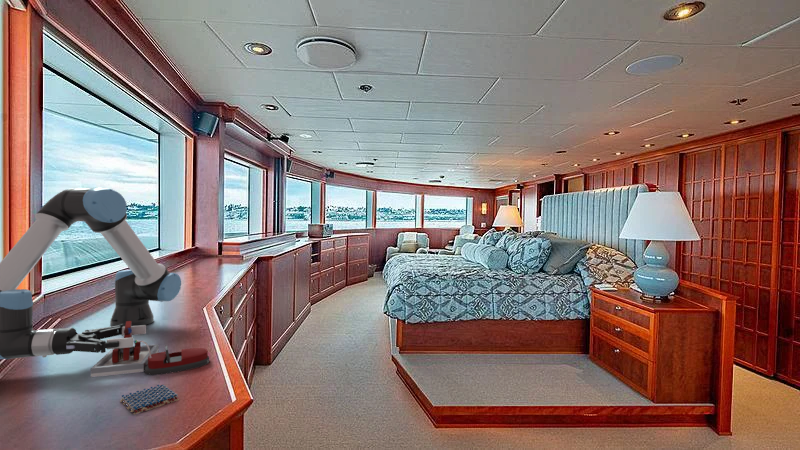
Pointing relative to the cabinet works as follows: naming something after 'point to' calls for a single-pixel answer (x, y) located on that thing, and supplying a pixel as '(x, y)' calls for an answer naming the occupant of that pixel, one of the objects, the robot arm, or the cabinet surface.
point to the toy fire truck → (126, 352)
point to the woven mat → (149, 398)
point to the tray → (123, 363)
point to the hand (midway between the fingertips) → (139, 335)
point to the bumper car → (175, 360)
